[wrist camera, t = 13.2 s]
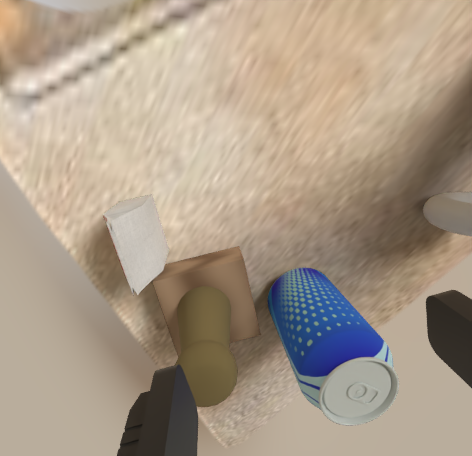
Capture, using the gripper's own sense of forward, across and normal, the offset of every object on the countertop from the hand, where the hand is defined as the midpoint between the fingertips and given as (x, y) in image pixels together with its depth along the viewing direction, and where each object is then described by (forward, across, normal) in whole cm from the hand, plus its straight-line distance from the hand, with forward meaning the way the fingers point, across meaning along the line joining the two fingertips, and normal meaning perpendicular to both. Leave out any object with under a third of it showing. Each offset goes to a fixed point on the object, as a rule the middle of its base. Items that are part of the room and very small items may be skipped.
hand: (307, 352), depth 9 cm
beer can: (+26, -5, +14) cm, 30 cm away
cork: (+22, +7, +11) cm, 25 cm away
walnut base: (+26, +6, +11) cm, 28 cm away
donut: (+26, -25, +8) cm, 37 cm away
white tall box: (+26, +11, 0) cm, 28 cm away
